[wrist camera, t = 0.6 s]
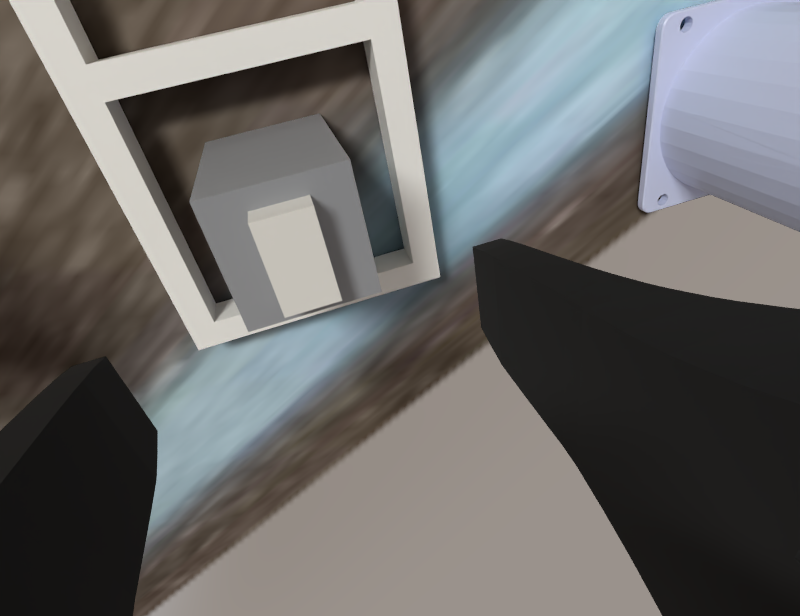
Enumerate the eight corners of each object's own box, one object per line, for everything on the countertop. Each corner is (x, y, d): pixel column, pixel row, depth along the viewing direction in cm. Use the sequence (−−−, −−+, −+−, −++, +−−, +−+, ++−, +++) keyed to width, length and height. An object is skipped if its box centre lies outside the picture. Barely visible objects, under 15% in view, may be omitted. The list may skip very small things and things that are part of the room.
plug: (319, 113, 17) (355, 168, 12) (346, 217, 19) (388, 305, 14) (205, 142, 17) (186, 214, 11) (247, 245, 19) (248, 348, 13)
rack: (304, -492, 11) (311, -551, 9) (429, 262, 21) (440, 277, 20) (-202, -441, 9) (-263, -501, 8) (201, 330, 20) (198, 350, 19)
